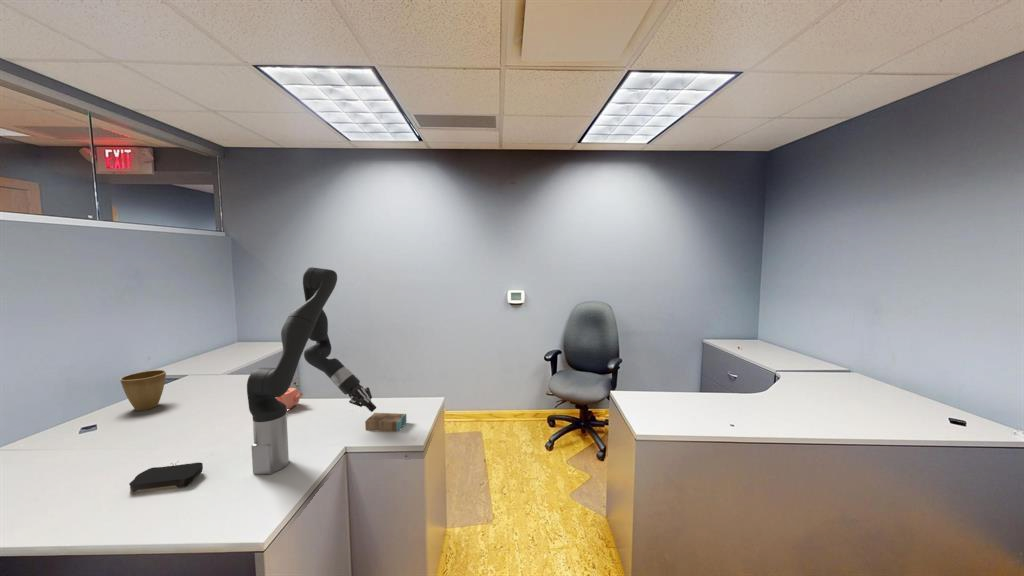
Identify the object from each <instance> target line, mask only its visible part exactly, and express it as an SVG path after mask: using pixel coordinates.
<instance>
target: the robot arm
mask: <svg viewBox="0 0 1024 576" xmlns="http://www.w3.org/2000/svg"><path fill="white" fill-rule="evenodd" d="M337 282H338V275H337V272H336V271H335V270H332V269H328V268H320V267H313V266H312V267H311V266H310V267H307V269H305V271H304V273H303V274H302V288H303V295H304V300H305V302H304V303H302V304H301V305H299V306H297V307H296V308H295V309H294V310H292V311H291V312H290V313H289V315H288V316H287V318H286V320H285V322H284V324H283V326H282V328H281V331H280V338H281V344H282V355H281V357H280V359H279V361H278V363H277V365H276V367H258V368H256V369H254V370H253V371H252V372H251V373H250V375H248V379H247V382H246V393H247V396H246V397H247V401H248V402H247V403H248V411H249V413H250V414H251V416H252V429H253V432H252V433H253V444H251V459H252V460H251V463H252V464H251V465H252V474H255V475H256V474H257V475H272V474H273V473H275V472H278V471H281V470H282V469H283V468H286V467H287V465H289V462H290V458H289V436H288V433H289V432H288V416H287V415H288V413H287V412H288V411H287V410H286V405H285V404H284V403H282V402H280V401H279V400H277V399H276V398H275V397H280V396H282V395H284V394H285V393H286V392H287V390H288V389H289V388H291V384H292V382H293V380H294V377H295V374H296V371H297V368H298V365H299V362H300V360H301V357H302V354H303V357H304V360H305V361H306V362H307V363H308V364H309V365H311V366H313V368H316V369H317V370H319V371H321V372H323V373H324V374H325V375H326V376H327V377H328V378H329V379H330V380H331V382H333V384H334V385H335V386H336V387H337V388H338V389H339V391H341V393H343V394H344V395H345V396H347V395H348V397H349V398H350V400H349V401H348V403H350V404H352V405H355V406H357V407H360V408H362V407H365V408H366V409H367V410H368V411H369V412H371V413H373V412H374V411H375V410H376V409H377V406H376V404H374V403H373V402H372V398H373V396H372V393H371V390H370V388H369V387H366V388H364V386H362V385H361V384H360V383H361V381H360V379H359V378H358V377H357V376H356V375H355V374H353V372H352V371H351V370H350V369H348V367H346V366H345V365H344V364H343V363H342V362H341V361H340V360H339V359H337V358H334V357H333V358H328V357H329V356H330V355H331V353H332V344H331V340H330V337H329V332H328V331H329V319H328V316H327V315H326V312H325V311H324V309H323V308H324V307H325V305H326V303H327V302H328V300H329V299H330V297H331V296H332V293H333V292H334V290H335V287H336V286H337ZM308 341H313V342H315V344H314V345H311V346H309V347H307V348H306V349H305V347H306V346H307V343H308Z"/></svg>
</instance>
